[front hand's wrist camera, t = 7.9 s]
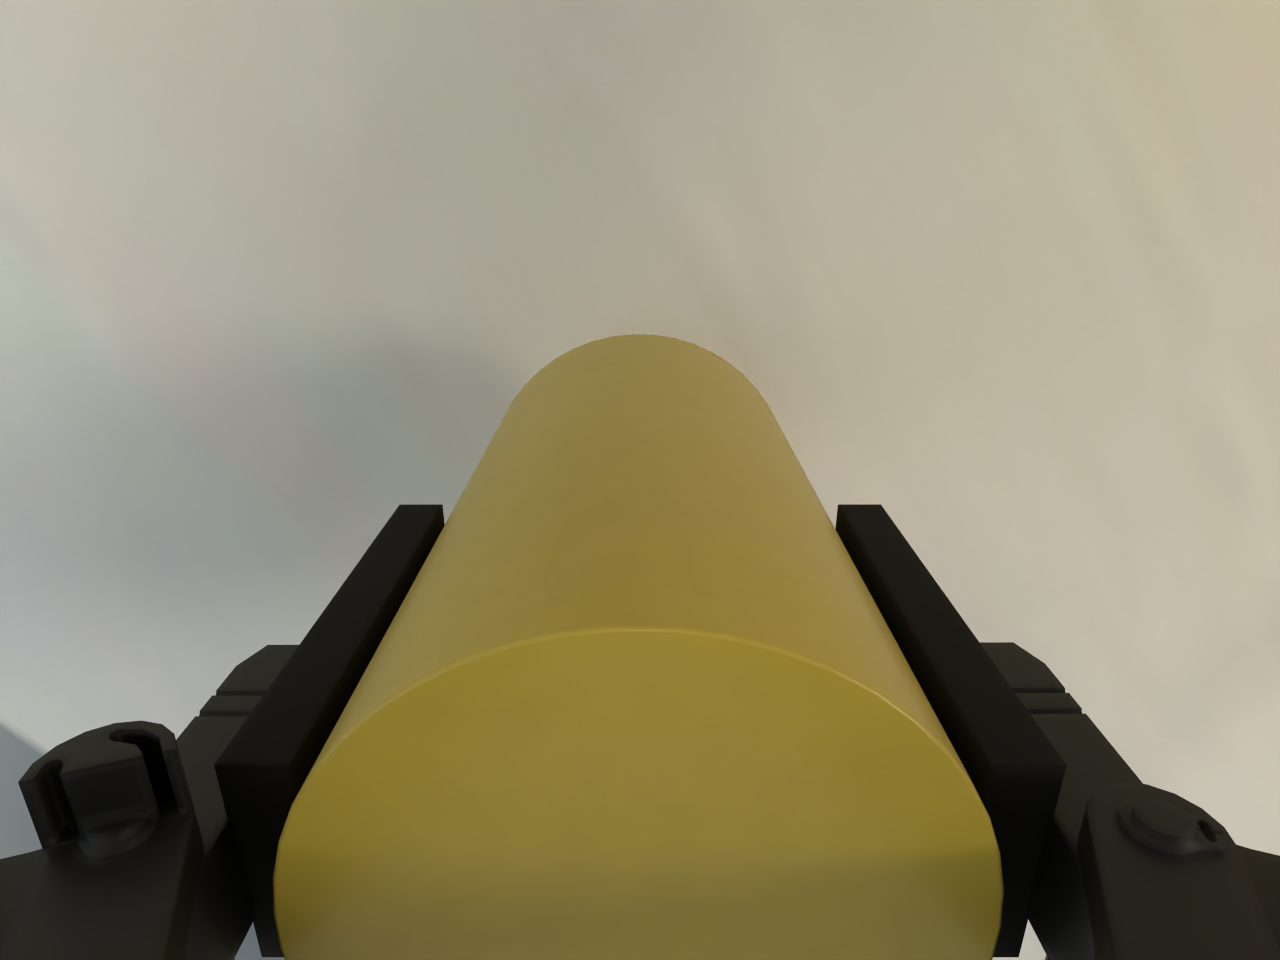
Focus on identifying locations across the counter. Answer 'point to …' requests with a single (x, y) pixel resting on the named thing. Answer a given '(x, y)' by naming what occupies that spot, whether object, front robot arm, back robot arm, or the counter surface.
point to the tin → (638, 712)
